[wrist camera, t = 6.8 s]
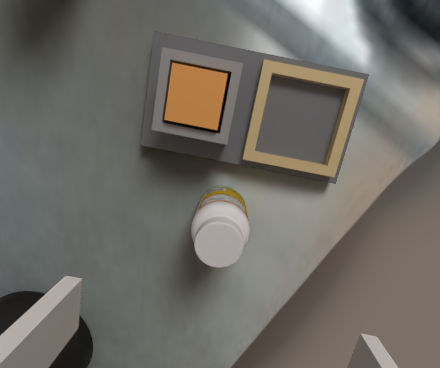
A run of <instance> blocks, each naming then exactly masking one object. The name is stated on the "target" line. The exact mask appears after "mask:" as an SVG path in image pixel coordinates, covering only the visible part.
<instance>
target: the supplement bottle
mask: <svg viewBox="0 0 440 368" xmlns="http://www.w3.org/2000/svg"><path fill="white" fill-rule="evenodd" d="M249 235H250V226H249V220H248V216H247V211H246V206H245V202H244V200H243V198H242V196H241V195H240V194H239V193H238V192H237V191H236V190H234V189H232V188H230V187H226V186H218V187H214V188H212V189H210V190H208V191H207V192H206V193H205V194H204V195H203V196H202V198H201V200H200V202H199V205H198V207H197V210H196V213H195V215H194V218H193V221H192V225H191V236H192V240H193V242H194V248H195V252H196V254H197V256H198V257H199V259H200V260H201V261H202V262H204V263H205V264H207V265H209V266H211V267H216V268H223V267H227V266H230V265H232V264H233V263H235V262H236V261H237V260H238V259H239V258H240V256H241V254H242V252H243V248H244V247H245V246H246V244H247V242H248V239H249Z"/></svg>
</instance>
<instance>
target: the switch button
mask: <svg viewBox="0 0 440 368" xmlns="http://www.w3.org/2000/svg"><path fill="white" fill-rule="evenodd" d="M227 83H228V74H227V73H222V72H217V71H212V70H207V69H202V68H197V67H192V66H187V65H182V64H177V63H172V68H171V75H170V83H169V90H168V97H167V104H166V111H165V119H164V120H168V121H173V122H178V123H183V124H188V125H193V126H198V127H203V128H208V129H213V130H219V126H220V120H221V115H222V110H223V104H224V99H225V94H226V88H227Z"/></svg>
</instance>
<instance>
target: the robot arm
mask: <svg viewBox="0 0 440 368" xmlns="http://www.w3.org/2000/svg"><path fill="white" fill-rule="evenodd" d="M81 287H82V279H81V278H76V277H71V276H65V277H64V278H63V279H62V280H60V281H59V282H58V283H57V284H56V285H55V286H54V287H53V288H52V289H51V290H50V291H48V292H47V293H46V294H43V293H39V292H31V291H22V292H15V293H11V294H8V295H5V296H3V297H1V298H0V368H87V366H88V364H89V362H90V360H91V357H92V351H93V344H92V338H91V334H90V331H89V329H88V327H87V325H86V323H85V322H84V320H83V319H82V318H81V317H80V315H79V314H80V300H81ZM348 368H398V367H397V366H396V364H395V363H394V361H393V360H392V358H391V357H390V356H389V354H388V352H387V351H386V350H385V348H384V347H383V345H382V344H381V342H380V341H379V339H378V338H377V337H376V336H370V335H366V334H360V336H359V339H358V341H357V344H356V347H355V349H354V352H353V354H352V357H351V360H350V362H349V365H348Z"/></svg>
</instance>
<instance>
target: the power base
mask: <svg viewBox="0 0 440 368" xmlns="http://www.w3.org/2000/svg"><path fill="white" fill-rule="evenodd" d="M172 63H177V64H182V65H187V66H192V67H197V68H202V69H207V70H212V71H217V72H222V73H227V74H228V83H227V88H226V94H225V99H224V104H223V110H222V115H221V120H220V126H219V130H213V129H208V128H203V127H198V126H193V125H188V124H183V123H178V122H173V121H168V120H164V119H165V111H166V104H167V97H168V90H169V83H170V75H171V68H172ZM368 76H369V74H364V73H359V72H354V71H349V70H344V69H339V68H334V67H329V66H324V65H319V64H314V63H309V62H304V61H299V60H294V59H289V58H284V57H279V56H275V55H270V54H265V53H260V52H255V51H250V50H245V49H240V48H235V47H230V46H225V45H220V44H215V43H210V42H205V41H200V40H195V39H190V38H185V37H180V36H175V35H170V34H165V33H160V32H155V31H154V38H153V46H152V54H151V62H150V71H149V79H148V87H147V96H146V104H145V112H144V120H143V129H142V137H141V145H142V146H147V147H152V148H157V149H162V150H167V151H172V152H177V153H182V154H187V155H192V156H197V157H202V158H208V159H213V160H218V161H223V162H228V163H233V164H238V165H243V166H248V167H253V168H258V169H263V170H268V171H274V172H279V173H284V174H289V175H294V176H299V177H304V178H309V179H314V180H319V181H324V182H329V183H334V184H336V181H337V178H338V174H339V171H340V168H341V165H342V161H343V158H344V155H345V151H346V148H347V145H348V142H349V138H350V135H351V132H352V128H353V125H354V122H355V119H356V115H357V112H358V109H359V105H360V102H361V99H362V96H363V92H364V89H365V86H366V82H367V79H368Z"/></svg>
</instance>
